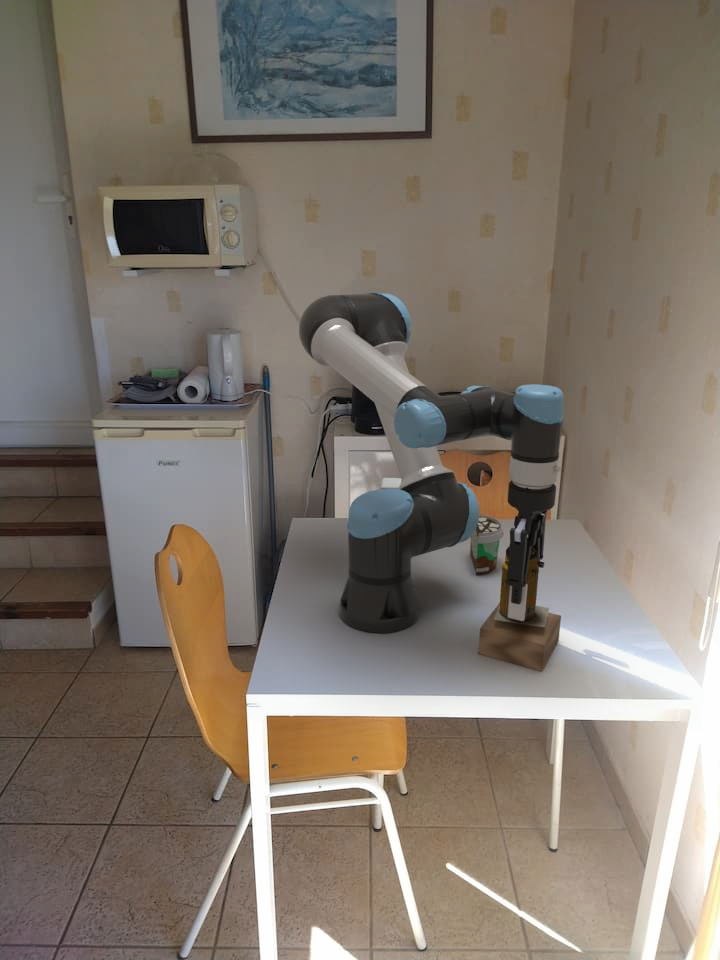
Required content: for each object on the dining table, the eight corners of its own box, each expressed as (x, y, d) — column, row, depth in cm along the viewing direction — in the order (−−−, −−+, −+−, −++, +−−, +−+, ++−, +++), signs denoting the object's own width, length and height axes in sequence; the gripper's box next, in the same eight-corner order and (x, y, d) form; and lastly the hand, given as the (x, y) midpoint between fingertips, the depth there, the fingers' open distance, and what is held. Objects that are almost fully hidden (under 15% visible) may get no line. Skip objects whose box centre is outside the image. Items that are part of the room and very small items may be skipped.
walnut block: (478, 653, 123) (480, 628, 121) (498, 625, 132) (500, 601, 130) (542, 671, 118) (544, 644, 116) (558, 640, 127) (561, 615, 125)
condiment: (500, 601, 127) (505, 539, 123) (549, 609, 125) (555, 545, 121) (493, 620, 121) (498, 555, 117) (544, 629, 118) (551, 563, 114)
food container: (505, 578, 150) (508, 534, 147) (476, 578, 150) (478, 534, 147) (496, 554, 162) (499, 513, 159) (469, 554, 162) (471, 513, 159)
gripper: (539, 503, 105) (527, 641, 113) (569, 469, 121) (557, 592, 129) (490, 495, 109) (482, 629, 116) (526, 463, 125) (517, 582, 132)
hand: (522, 609), depth 122 cm, fingers closed on condiment, 6 cm apart
